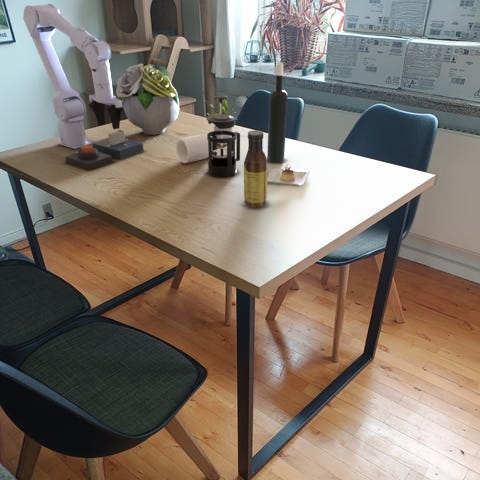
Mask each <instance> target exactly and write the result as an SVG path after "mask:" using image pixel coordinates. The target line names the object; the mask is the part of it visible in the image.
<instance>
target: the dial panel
mask: <svg viewBox="0 0 480 480" xmlns="http://www.w3.org/2000/svg"><path fill="white" fill-rule="evenodd" d="M91 145H92V147H93V148H96V149H97V150H98V152H100V153H104V154H107V155H111V156H112V158H113V159H114V158H115V159H119V160H123V159H125V158H128V157H131V156H134V155H138V154H140V153H143V152H145V150H144V143H143V142H141V141H136V140H132V139H130V138H125V142H122V143H119V144H116V145H111V144H110V141H109V137H108V138H104V139H102V140H99V141H95V142H92V144H91Z"/></svg>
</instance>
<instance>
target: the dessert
mask: <svg viewBox="0 0 480 480" xmlns="http://www.w3.org/2000/svg"><path fill="white" fill-rule="evenodd" d="M309 174H310V170H309V171H308V170H300V169H299V170H298V169H294V168H292V166H290V165H289V164H286V165H284V167H283V168H278V167H272V169H271V170H270V172H269V173H268V174H267V183H269V184H277V185H284V186H293V187H294V186H295V187H300V186H304V185H305V183H306V181H307V179H308V177H309Z"/></svg>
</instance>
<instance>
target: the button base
mask: <svg viewBox="0 0 480 480" xmlns="http://www.w3.org/2000/svg"><path fill="white" fill-rule="evenodd" d="M64 158H65V163H66V164H69V165H72V166H75V167H78V168H82V169H85V170H88V171H91V170H95V169H96V168H97V169H98V168H100V167H103V166H106V165H108V164H111V163H113V162H114V161H113V157H112V156H111V155H107V154H104V153H100V152H98V150H97V149H96V148H93V152H89V153H83V152H82V149H81V148H78V150H76V152H74V153H72V154H68V155H66V156H64Z"/></svg>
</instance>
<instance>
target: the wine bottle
mask: <svg viewBox="0 0 480 480" xmlns="http://www.w3.org/2000/svg"><path fill="white" fill-rule="evenodd" d="M284 65H285V64H284V62H276V67H275V68H276V70H275V89H274V90H272V91H271V92H270V94H269V100H268V102H269V103H268V125H267V133H268V134H267V151H266V152H267V153H266V158H267V162H269V163H273V164H279V163H283V162H285V150H286V149H285V147H286V132H287V131H286V130H287V113H288V96H289V95H288V93H287V92H286V90H284V89H283V78H284V77H283V76H284Z"/></svg>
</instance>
